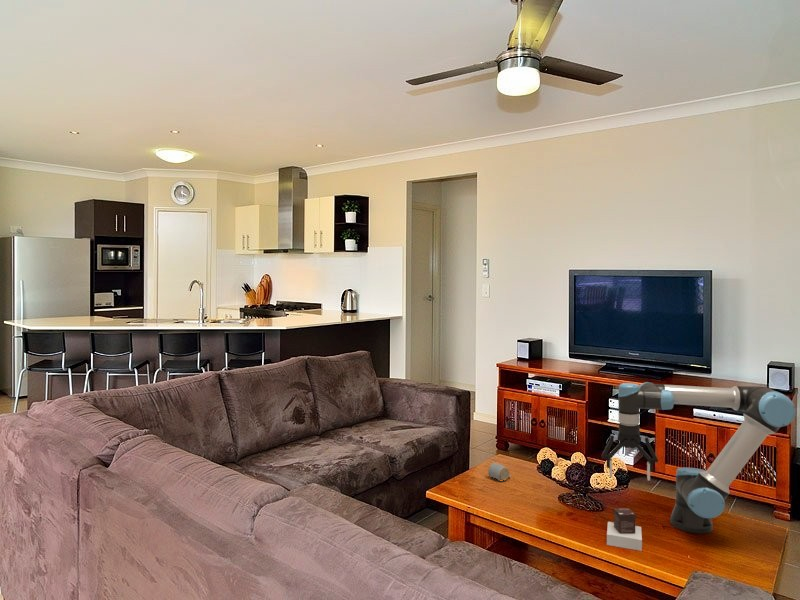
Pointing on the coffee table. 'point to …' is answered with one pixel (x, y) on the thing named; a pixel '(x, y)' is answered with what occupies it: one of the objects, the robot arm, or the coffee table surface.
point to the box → (624, 520)
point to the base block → (624, 538)
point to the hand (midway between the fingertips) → (629, 477)
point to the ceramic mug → (498, 471)
